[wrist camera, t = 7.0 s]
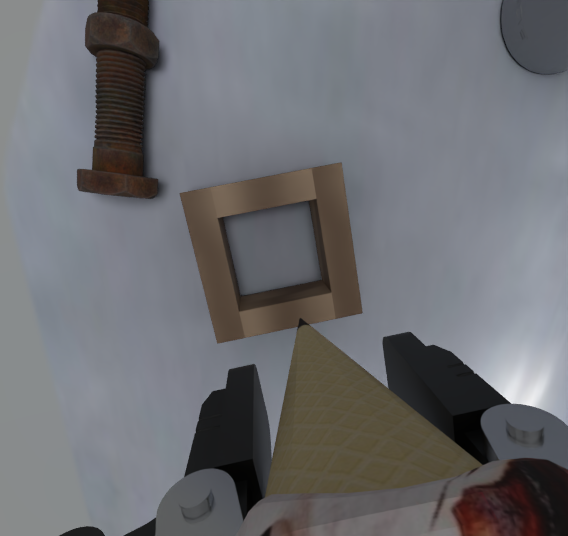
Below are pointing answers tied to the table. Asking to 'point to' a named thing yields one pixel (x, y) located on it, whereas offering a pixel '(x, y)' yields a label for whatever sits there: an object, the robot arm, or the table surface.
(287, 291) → the wooden square frame
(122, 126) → the bolt
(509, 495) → the ice cream cone
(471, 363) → the table surface
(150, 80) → the table surface
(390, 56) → the table surface
